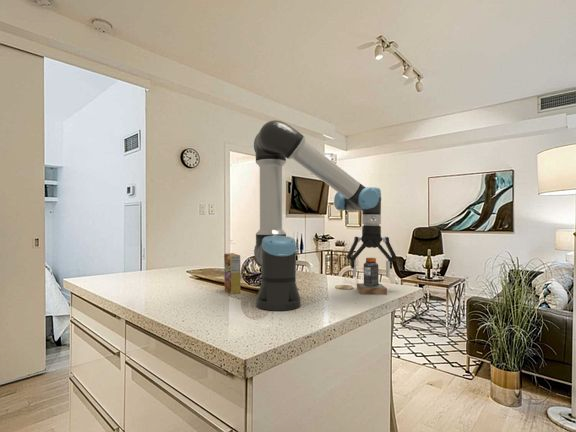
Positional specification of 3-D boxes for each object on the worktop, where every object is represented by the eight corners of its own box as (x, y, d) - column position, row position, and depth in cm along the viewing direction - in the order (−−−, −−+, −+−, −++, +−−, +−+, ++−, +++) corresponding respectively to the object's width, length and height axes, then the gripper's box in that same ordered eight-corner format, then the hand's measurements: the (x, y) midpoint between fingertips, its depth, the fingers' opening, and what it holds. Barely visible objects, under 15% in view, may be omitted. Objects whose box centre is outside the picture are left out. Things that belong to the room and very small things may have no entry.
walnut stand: (361, 294, 131) (361, 287, 131) (356, 289, 141) (356, 283, 141) (386, 294, 131) (386, 287, 131) (380, 289, 141) (380, 283, 141)
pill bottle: (377, 284, 138) (377, 257, 139) (379, 286, 132) (379, 258, 133) (362, 283, 139) (362, 257, 139) (364, 286, 133) (364, 258, 133)
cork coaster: (336, 289, 140) (336, 288, 140) (333, 285, 148) (333, 284, 148) (354, 289, 140) (354, 288, 140) (351, 286, 148) (351, 284, 148)
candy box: (223, 290, 137) (223, 253, 137) (233, 289, 139) (233, 252, 139) (230, 294, 129) (230, 255, 129) (240, 293, 131) (241, 254, 131)
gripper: (342, 224, 133) (342, 277, 132) (404, 225, 132) (404, 278, 132) (340, 224, 140) (339, 274, 140) (399, 225, 140) (399, 275, 139)
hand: (371, 276), depth 136 cm, fingers open, 13 cm apart
